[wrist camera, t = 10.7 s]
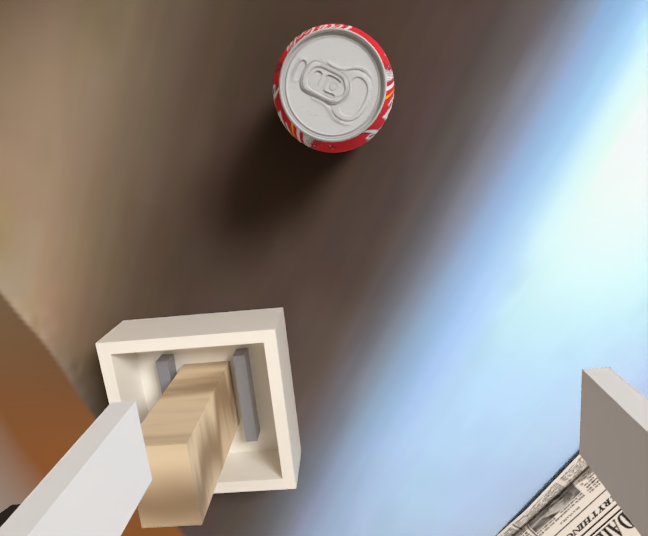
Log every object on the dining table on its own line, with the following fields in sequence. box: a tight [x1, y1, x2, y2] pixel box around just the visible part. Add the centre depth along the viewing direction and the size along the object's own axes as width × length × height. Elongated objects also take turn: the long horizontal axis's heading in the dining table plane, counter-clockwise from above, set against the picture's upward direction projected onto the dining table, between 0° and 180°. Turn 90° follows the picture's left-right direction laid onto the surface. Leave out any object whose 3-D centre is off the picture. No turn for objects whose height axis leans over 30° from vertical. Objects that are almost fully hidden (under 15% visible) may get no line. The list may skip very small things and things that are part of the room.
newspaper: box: [497, 454, 641, 536], centre depth 47 cm, size 23×12×2 cm, turn 142°
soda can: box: [273, 24, 394, 153], centre depth 32 cm, size 7×7×12 cm
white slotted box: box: [95, 307, 301, 493], centre depth 42 cm, size 14×14×5 cm
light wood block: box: [137, 361, 239, 528], centre depth 37 cm, size 6×4×12 cm, turn 6°
